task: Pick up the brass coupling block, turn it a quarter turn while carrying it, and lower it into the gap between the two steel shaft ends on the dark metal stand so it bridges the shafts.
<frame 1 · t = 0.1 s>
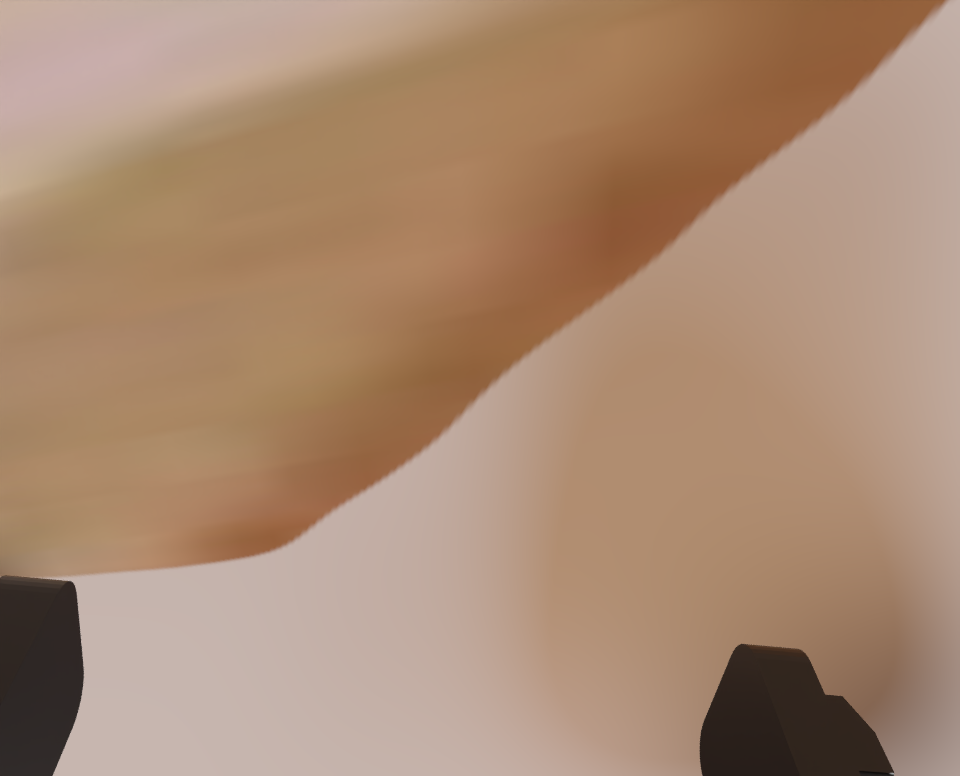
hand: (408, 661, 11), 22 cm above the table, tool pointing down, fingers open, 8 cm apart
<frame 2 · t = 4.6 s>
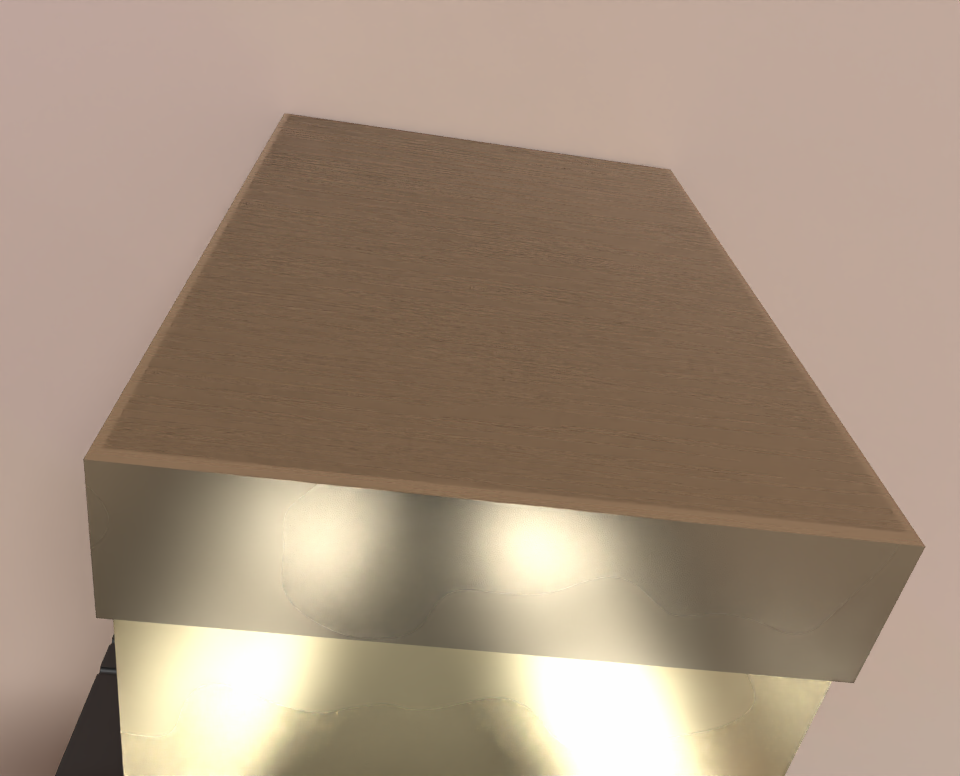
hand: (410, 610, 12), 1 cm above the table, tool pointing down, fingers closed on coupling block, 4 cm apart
coupling block: (414, 570, 13), on the table, touching gripper
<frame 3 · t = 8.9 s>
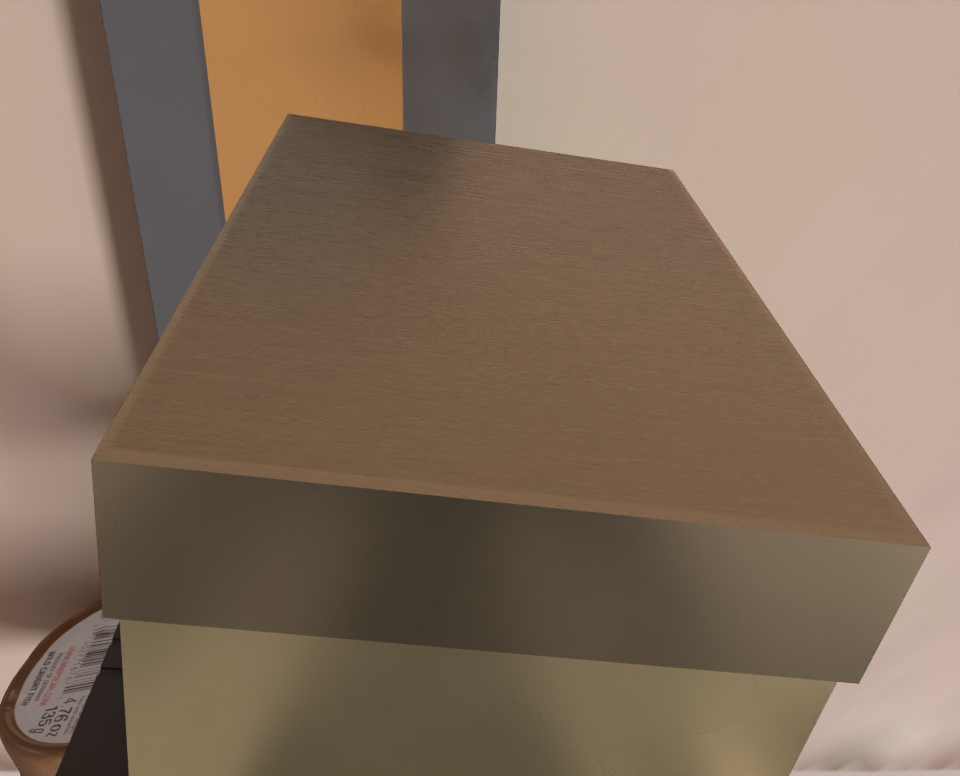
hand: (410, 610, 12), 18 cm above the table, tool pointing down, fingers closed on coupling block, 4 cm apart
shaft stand: (319, 153, 27), on the table
coupling block: (416, 570, 13), point 17 cm above the table, touching gripper
tin: (243, 582, 35), on the table
when the fingers open (3 cm above the table, at t = 13.0 s): coupling block stays where it is, resting on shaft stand.
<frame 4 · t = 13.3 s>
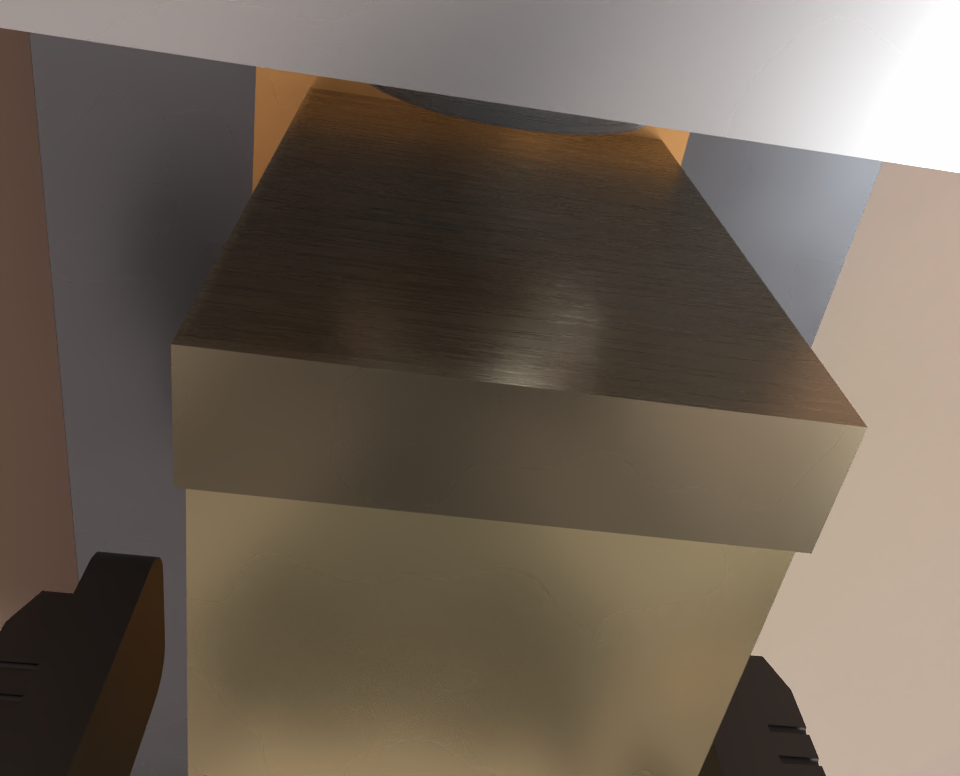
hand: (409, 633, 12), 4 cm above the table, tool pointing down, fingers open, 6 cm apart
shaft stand: (417, 454, 15), on the table
coupling block: (424, 520, 14), point 2 cm above the table, touching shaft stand
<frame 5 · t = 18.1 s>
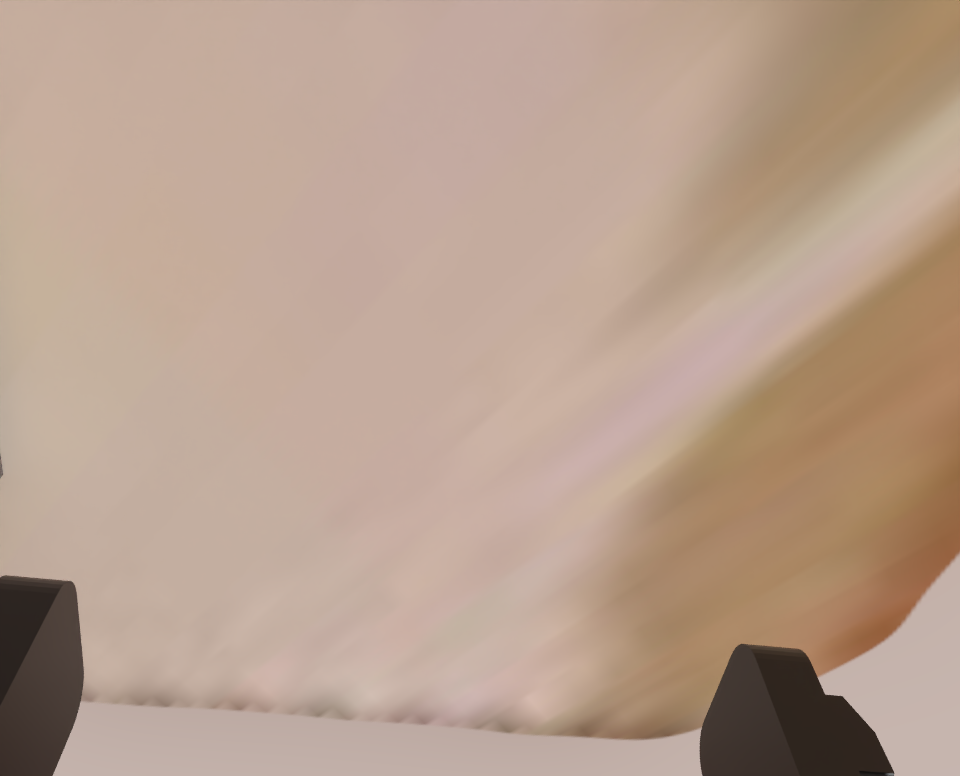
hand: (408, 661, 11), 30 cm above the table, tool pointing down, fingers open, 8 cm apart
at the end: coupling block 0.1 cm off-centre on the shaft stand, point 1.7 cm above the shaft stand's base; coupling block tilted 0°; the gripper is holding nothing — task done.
